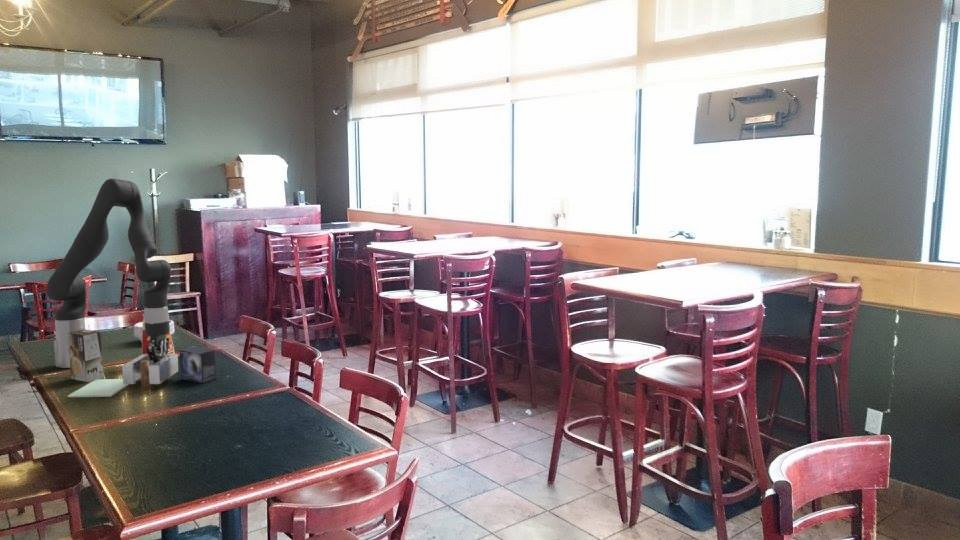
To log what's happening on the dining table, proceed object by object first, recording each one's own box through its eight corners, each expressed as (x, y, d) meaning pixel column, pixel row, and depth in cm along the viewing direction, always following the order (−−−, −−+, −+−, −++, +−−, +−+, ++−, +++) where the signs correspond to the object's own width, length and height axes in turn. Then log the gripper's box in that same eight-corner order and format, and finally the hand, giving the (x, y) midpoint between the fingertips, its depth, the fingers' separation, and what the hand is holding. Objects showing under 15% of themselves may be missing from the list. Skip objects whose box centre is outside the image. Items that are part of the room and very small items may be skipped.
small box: (179, 379, 235) (177, 349, 234) (195, 375, 241) (193, 345, 240) (201, 384, 230) (200, 352, 229) (217, 379, 236) (215, 348, 235)
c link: (144, 371, 237) (143, 354, 236) (178, 371, 238) (177, 353, 237) (123, 384, 222) (122, 365, 221) (159, 383, 223) (158, 365, 222)
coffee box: (105, 377, 238) (101, 331, 236) (86, 382, 232) (83, 335, 230) (88, 374, 242) (84, 328, 240) (69, 379, 236) (66, 332, 234)
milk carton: (176, 361, 260) (173, 307, 257) (162, 367, 251) (159, 312, 248) (152, 360, 261) (149, 307, 258) (138, 367, 251) (134, 312, 249)
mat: (67, 397, 216) (67, 395, 216) (96, 380, 234) (96, 379, 234) (110, 396, 217) (110, 395, 217) (136, 380, 235) (136, 378, 235)
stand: (140, 389, 224) (138, 362, 223) (144, 387, 226) (142, 360, 225) (148, 389, 224) (147, 362, 223) (152, 387, 227) (150, 360, 225)
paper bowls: (126, 344, 287) (124, 325, 286) (153, 336, 301) (152, 318, 300) (156, 346, 282) (155, 327, 281) (183, 338, 297) (182, 320, 296)
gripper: (154, 316, 241) (157, 365, 243) (136, 324, 227) (139, 376, 229) (176, 315, 241) (179, 365, 243) (159, 324, 227) (162, 376, 230)
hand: (159, 370), depth 236 cm, fingers closed on c link
